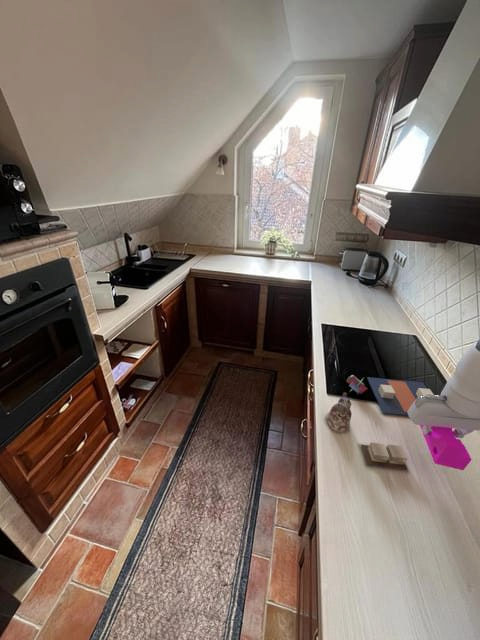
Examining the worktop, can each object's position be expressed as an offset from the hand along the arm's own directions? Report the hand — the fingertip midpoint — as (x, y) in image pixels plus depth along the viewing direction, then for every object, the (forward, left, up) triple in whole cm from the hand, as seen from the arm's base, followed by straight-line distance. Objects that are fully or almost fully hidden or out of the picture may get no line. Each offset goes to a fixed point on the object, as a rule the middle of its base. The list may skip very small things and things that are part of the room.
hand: (441, 434), depth 69 cm
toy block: (0, 0, -3) cm, 3 cm away
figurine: (+22, -11, -13) cm, 28 cm away
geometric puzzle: (+12, -27, -13) cm, 33 cm away
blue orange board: (-6, -26, -13) cm, 30 cm away
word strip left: (+11, 0, -13) cm, 17 cm away
